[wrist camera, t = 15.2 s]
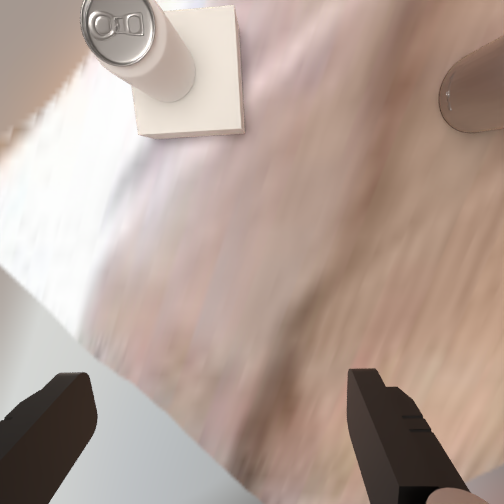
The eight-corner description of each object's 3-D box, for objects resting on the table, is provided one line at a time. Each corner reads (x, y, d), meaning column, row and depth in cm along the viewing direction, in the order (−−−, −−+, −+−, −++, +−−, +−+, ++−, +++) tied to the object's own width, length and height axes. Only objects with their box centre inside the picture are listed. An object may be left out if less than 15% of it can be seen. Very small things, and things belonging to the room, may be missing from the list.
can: (135, 38, 34) (67, -28, 22) (194, 36, 34) (156, -32, 22) (141, 103, 36) (81, 73, 24) (197, 102, 35) (164, 71, 24)
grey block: (239, 29, 39) (234, 5, 33) (245, 133, 42) (241, 128, 36) (143, 37, 39) (121, 14, 34) (155, 139, 42) (138, 134, 37)
